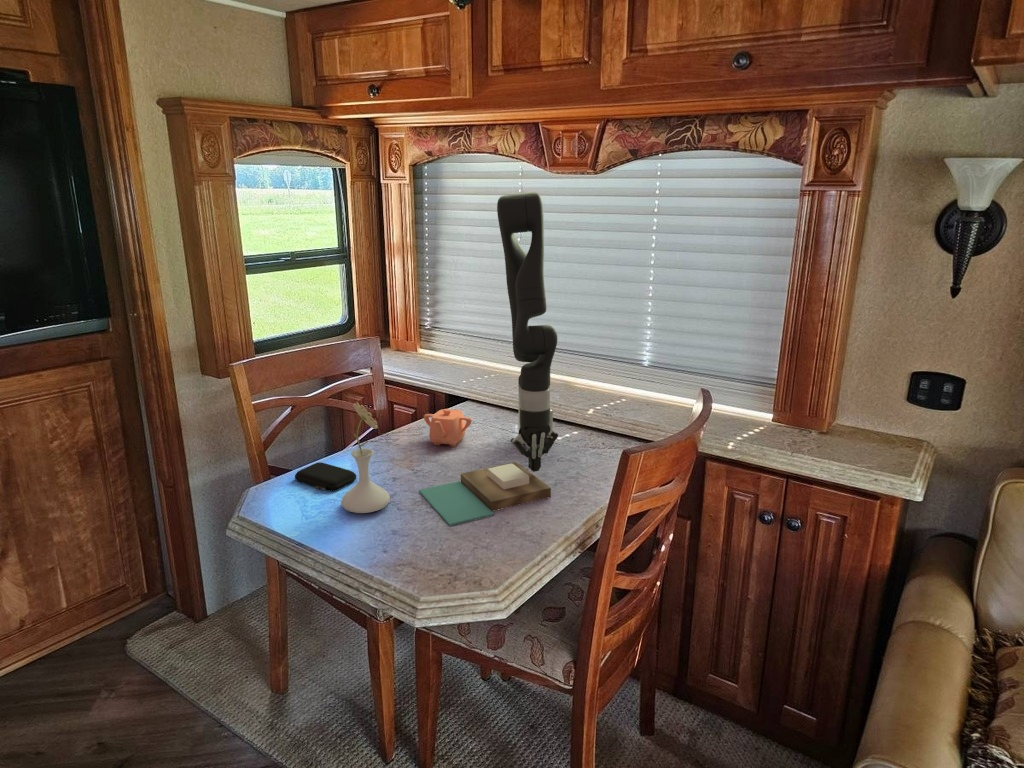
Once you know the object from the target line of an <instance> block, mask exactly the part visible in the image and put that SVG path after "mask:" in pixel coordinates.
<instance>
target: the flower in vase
mask: <svg viewBox="0 0 1024 768" xmlns="http://www.w3.org/2000/svg"><path fill="white" fill-rule="evenodd" d="M352 405H353V408H354V410H355V412H356V413H357V415H359V417H360V421H359V423H358V426H357V430H356V433H355V432H353V435H354V436H353V437H354V438H355V439H356V441H357V444H358V445H357V446H358V448H357V449H355V450H353V451H352V452H351V454H350V455H351V456H352V457H353V458H354V460H355V462H356V465H357V468H358V481H357V483H356V484H355V485H354V486H353V487H352V488H350V489H349V490H348V491H347V492H346V493H345V494H344V495H343V496H342V498H341V500H340V505H341V507H342V508H343V509H344V510H345V511H348V512H350V513H354V514H368V513H373V512H377V511H379V510H382V509H384V508H385V507H386V506H387V505H388V504H389V502H390V500H391V496H390V494H389V493H388V491H386V490H385V489H384V488H383V487H381V486H379V485H378V484H376V483H374V482H373V481H371V479H370V473H369V468H370V467H369V466H370V459H371V457H372V456H373V454H374V450H372V449H371V448H362V446H364V445H365V444H367V443H369V440H366V441H364V442H363V443H360V442H361V441H360V440H359V431H360V428H361V424H362V421H364V422H365V423H366V424H367V425H368V426H369V427H371V428H372V429H374V430H377V429H378V428H379V426H378V422H377V421H376V419H374V418H373V414H372V413H371V412H368V410H367V409H365V406H364V405H363V404H361V405H360V404H359V402H358V401H356V403H355V402H354V403H353V404H352Z"/></svg>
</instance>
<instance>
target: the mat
mask: <svg viewBox="0 0 1024 768" xmlns="http://www.w3.org/2000/svg"><path fill="white" fill-rule="evenodd" d="M418 493H420V495H421V494H422V495H421V496H422V497H423V498H424V500H426V501H427V502H428V503H429V504H430V506H431V507H432V508H433V509H434V510H435V511H436V512H437V514H438V515H439V516H440V517H441V518H442V519H443V521H445V523H446V524H448V525H449V527H451V526H455V525H456V524H457V525H461V524H464V522H465V523H469V522H472V520H473V521H476V520H475V519H477V520H480V519H479V518H481V519H485V518H488V517H487V516H489V517H492V516H491V515H493V516H495V513H494V511H491V510H490V509H489V508H488V507H487V506H486V505H485V504H484V503H483V502H482V501H480V500H479V499H478V498H477V497H476V496H475V495H474V494H473V493H472V492H471V491H470V490H469V489H468V488H467V487H465V486H464V485H463V484H462V483H461V480H459V481H454V482H448V483H445V484H440V485H439V484H438V485H435V486H431V487H426V488H421V489H418ZM484 517H485V518H484ZM468 521H469V522H468Z"/></svg>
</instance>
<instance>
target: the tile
mask: <svg viewBox="0 0 1024 768" xmlns="http://www.w3.org/2000/svg"><path fill="white" fill-rule="evenodd" d="M506 464H507V465H504V464H501V465H502V466H499V465H496V466H497V467H495V466H492V467H493V468H490V467H487V468H488V477H490V478H491V479H492V480H493V481H494V482H496V483H497V484H498V485H499V486H500V487H501V488H503V489H508V488H512V487H517V486H521V485H526V484H529V476H528V475H527V474H526V473H524V472H523V471H522V470H520V469H519V468H518V467H516V466H515V465H514V464H509V463H506Z"/></svg>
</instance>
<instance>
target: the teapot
mask: <svg viewBox="0 0 1024 768" xmlns="http://www.w3.org/2000/svg"><path fill="white" fill-rule="evenodd" d="M430 418H431V420H430ZM423 420H424V422H425V423H426V424H427V425H428V426H429V434H428V437H429V441H430V442H431V443H433V445H434V446H436V445H438V446H441V445H442V444H444V445H449V446H451V447H450V448H455V446H456V445H457V444H458V443H459V442H461V440H462V441H463V438H464V437H465V435H466V433H467V432H466V431H467V429H468V428H469V427H470V426H471V423H472V421H473V420H472V418H471V417H469V416H465V415H464V413H463V411H462V410H459V409H457V408H454V409H450V408H444V409H440V410H437V411H436V412H435V413H434V414H433V413H426V414H424V415H423ZM440 444H441V445H440ZM456 447H457V446H456Z"/></svg>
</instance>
